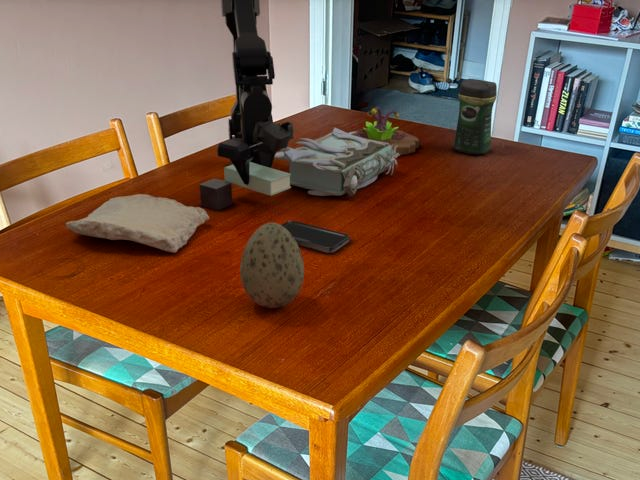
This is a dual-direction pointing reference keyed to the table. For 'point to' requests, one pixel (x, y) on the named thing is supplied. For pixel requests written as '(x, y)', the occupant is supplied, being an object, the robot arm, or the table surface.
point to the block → (216, 194)
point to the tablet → (142, 221)
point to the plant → (388, 133)
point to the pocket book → (260, 179)
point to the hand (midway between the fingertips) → (256, 179)
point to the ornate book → (337, 163)
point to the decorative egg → (272, 266)
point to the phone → (316, 237)
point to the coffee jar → (475, 116)
